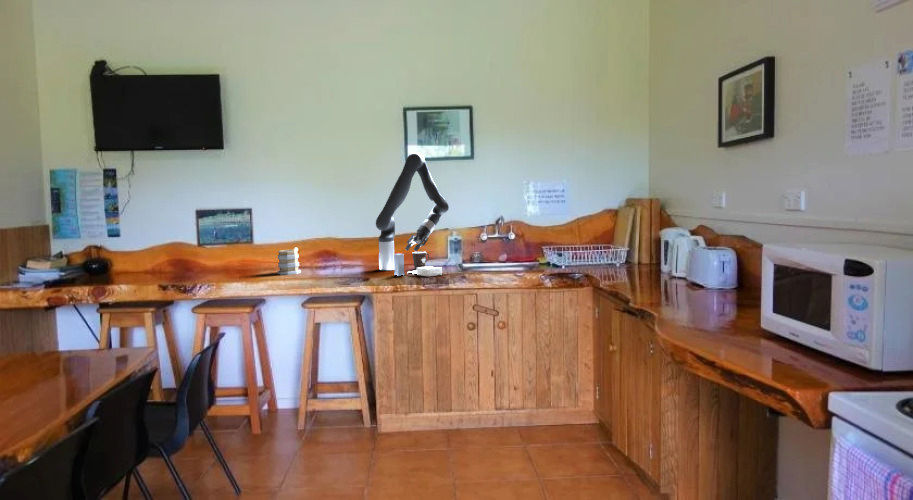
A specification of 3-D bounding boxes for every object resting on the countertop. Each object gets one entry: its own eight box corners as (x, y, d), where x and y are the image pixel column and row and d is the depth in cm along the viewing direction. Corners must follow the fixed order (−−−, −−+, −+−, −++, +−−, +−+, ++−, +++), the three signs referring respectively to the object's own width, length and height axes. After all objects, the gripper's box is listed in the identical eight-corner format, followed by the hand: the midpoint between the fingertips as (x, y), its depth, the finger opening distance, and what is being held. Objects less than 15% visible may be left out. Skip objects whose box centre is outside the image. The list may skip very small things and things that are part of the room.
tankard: (293, 274, 344) (292, 249, 343) (274, 274, 347) (272, 249, 345) (309, 270, 364) (307, 246, 362) (290, 270, 366) (289, 246, 365)
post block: (407, 273, 334) (407, 266, 333) (421, 271, 340) (420, 265, 339) (428, 276, 318) (428, 269, 318) (442, 274, 324) (441, 267, 324)
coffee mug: (415, 270, 348) (414, 253, 347) (410, 268, 356) (410, 252, 355) (433, 268, 352) (433, 252, 351) (428, 267, 360) (428, 251, 359)
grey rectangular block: (394, 275, 327) (393, 254, 326) (400, 274, 330) (399, 253, 329) (398, 276, 324) (397, 254, 323) (404, 275, 327) (403, 254, 326)
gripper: (414, 224, 341) (399, 245, 334) (429, 224, 330) (413, 246, 324) (422, 232, 345) (407, 253, 338) (437, 233, 334) (421, 255, 327)
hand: (410, 250), depth 331 cm, fingers open, 8 cm apart
